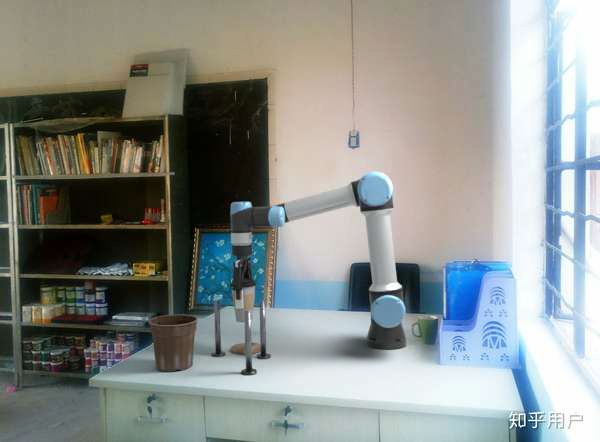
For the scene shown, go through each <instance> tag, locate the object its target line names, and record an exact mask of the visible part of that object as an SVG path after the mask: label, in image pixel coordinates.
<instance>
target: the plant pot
mask: <svg viewBox="0 0 600 442" xmlns="http://www.w3.org/2000/svg"><path fill="white" fill-rule="evenodd" d="M198 321H199V317H197V316H195V315H191V314H166V315H160V316H155V317H152V318H151V319H149V320H148V324H149V326H150V333H151V335H152V343H153V344H152V345H153V353H154V362H155V363H154V364H155V368H156V369H157V370H158V371H161V372H164V373H165V372H166V373H167V372H169V373H172V372H176V371H177V370H178V371H185V370H187V369H190V368H191V367H193V364H194V362H193V360H194V349H195V335H196V331H197V322H198Z"/></svg>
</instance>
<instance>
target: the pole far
mask: <svg viewBox="0 0 600 442" xmlns="http://www.w3.org/2000/svg"><path fill="white" fill-rule="evenodd" d="M220 302H221V301H220V299H214V300H213V309H214V312H213V313H214V315H213V316H214V339H215V340H214V343H215V344H214V347H215V348H214V349H215V351H214V352H211V355H210V356H211V357H213V358H222V357H225V356H226V352H225V351H222V340H221V338H222V334H221V303H220Z"/></svg>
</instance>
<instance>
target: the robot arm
mask: <svg viewBox="0 0 600 442" xmlns="http://www.w3.org/2000/svg"><path fill="white" fill-rule="evenodd" d="M393 190H394V189H393V183H392V181H391V179H390V178H389V177H388V176H387V175H386V174H385V173H382V172H381V171H371V172H367V173H365V174H364V175H362V176H361V178H359V179H358V180H353V181H351V182H349V183H348V185H345V186H342V187H339V188H338V187H337V188H335V189H331V190H327V191H324V192H319V193H317V194H313V195H310V196H309V195H308V196H305V197H301V198H298V199H297V198H296V199H293V200H290V201H286V202H283V203H278V204H276V205H275V204H274V205H270V206H252V202H251V201H233V202H232V203H231V204H230V215H229V216H230V232H231V233H230V242H231V244H232V245H231V255H232V256H233V257H236V259H235V260H233V263H232V264H233V265H232V266H233V269H232V270H233V275H232V280H233V288H232V287H231V291H232V290H233V291H235V307H236V309H243V290H242V284H243V278H251V279H254V278H253V270H252V258H251V257H252V255H253V254H254V253H253V245H252V243H253V238H254V234H252V233H253V231H252V230H253V229H255V228H274V229H276V228H282V227H284V225H285V224H287V223H290V222H294V221H296V220H297V221H298V220H301V219H304V218H309V217H313V216H317V215H320V214H324V213H329V212H331V211H336V210H340V209H344V208H347V207H352V206H353V207H356V208H359V210H360V213H361V214H362V215H363V216H364V217H365V226H366V234H367V235H366V237H367V244H368V256H369V264H370V272H371V281H372V284H371V285H370V287H369V288H368V291H369V292H368V294H369V303H370V305H369V306H370V324H369V328H368V331H367V335H366V338H365V339H366V342H365V343H366V345H367V346H368V347H371V348H375V349H379V350H380V349H381V350H396V349H401V348H404V347H406V346H407V343H408V341H407V339H408V338H407V336H406V333H405V330H404V327H403V323H402V322H403V321H404V319H405V316H406V312H407V311H406V310H407V309H406V306H405V302H404V293H403V286H402V284H400V283H399V282H398V277H397V270H396V258H395V251H394V239H393V230H392V220H391V213H392V212H393V210H394V209H395V208H394V200H393Z"/></svg>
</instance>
